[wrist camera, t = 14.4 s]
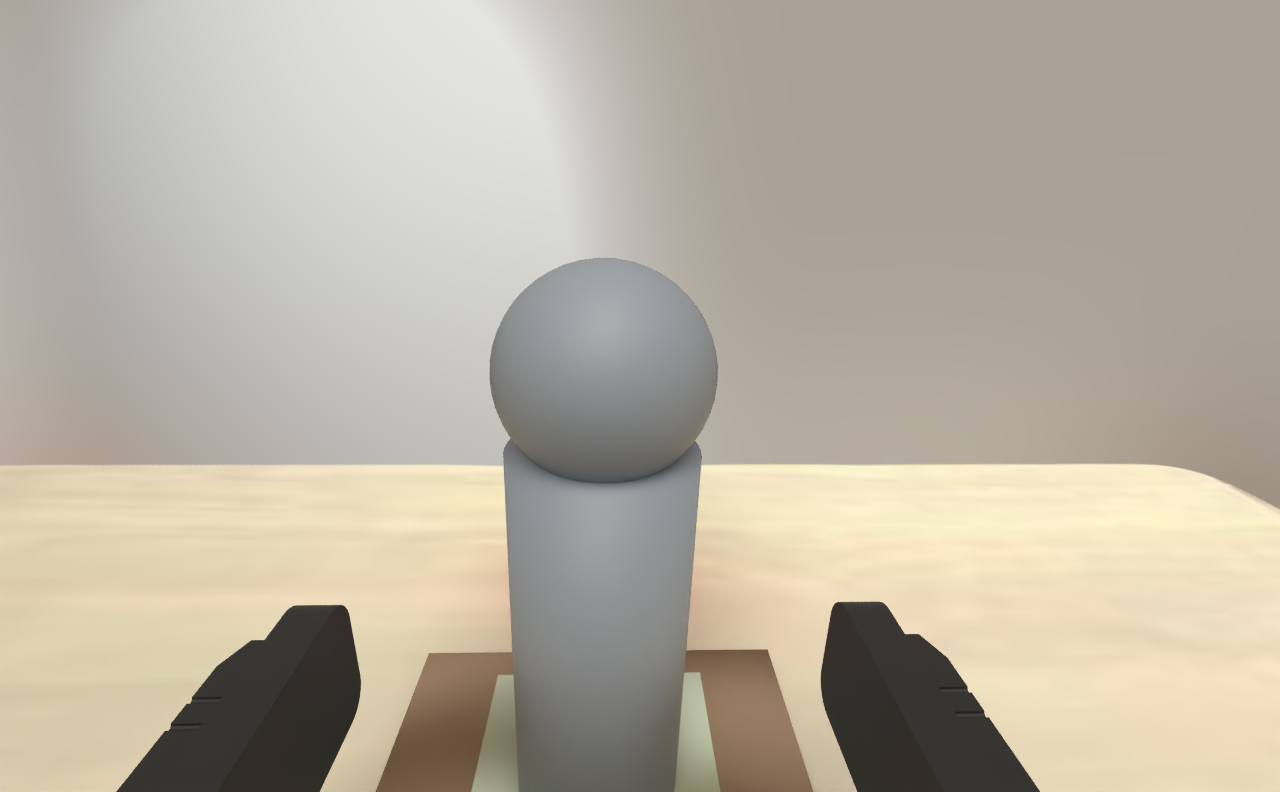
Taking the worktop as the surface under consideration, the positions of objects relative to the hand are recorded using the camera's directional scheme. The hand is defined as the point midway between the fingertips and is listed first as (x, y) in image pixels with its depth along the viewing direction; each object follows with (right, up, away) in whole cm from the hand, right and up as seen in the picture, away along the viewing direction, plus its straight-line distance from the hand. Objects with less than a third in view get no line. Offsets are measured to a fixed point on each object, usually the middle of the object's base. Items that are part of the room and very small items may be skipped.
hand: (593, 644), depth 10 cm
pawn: (0, -6, +7) cm, 9 cm away
